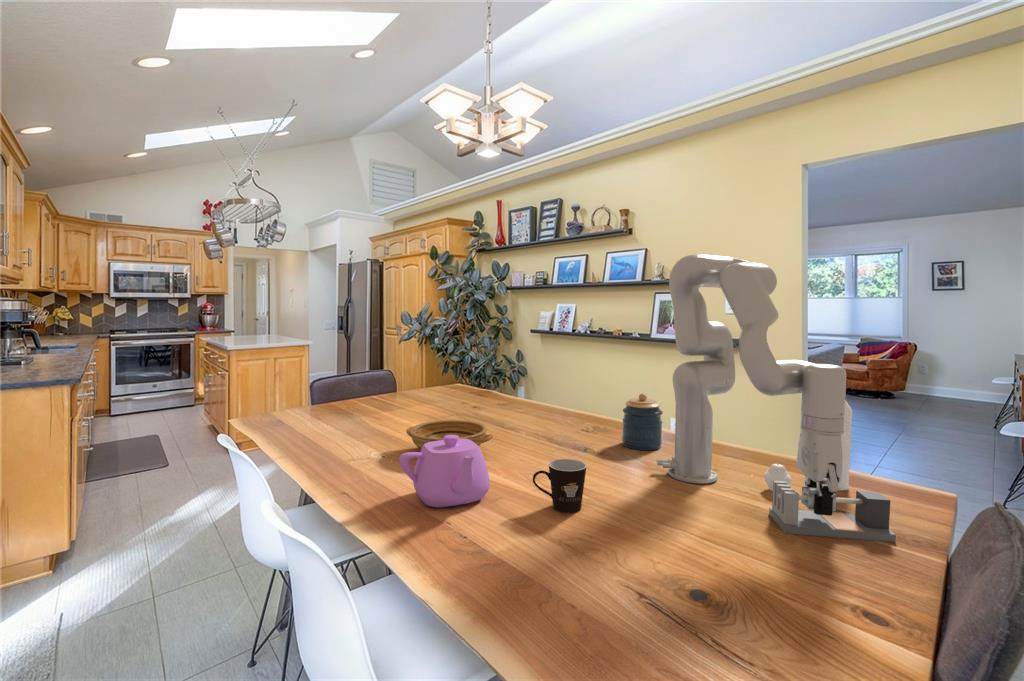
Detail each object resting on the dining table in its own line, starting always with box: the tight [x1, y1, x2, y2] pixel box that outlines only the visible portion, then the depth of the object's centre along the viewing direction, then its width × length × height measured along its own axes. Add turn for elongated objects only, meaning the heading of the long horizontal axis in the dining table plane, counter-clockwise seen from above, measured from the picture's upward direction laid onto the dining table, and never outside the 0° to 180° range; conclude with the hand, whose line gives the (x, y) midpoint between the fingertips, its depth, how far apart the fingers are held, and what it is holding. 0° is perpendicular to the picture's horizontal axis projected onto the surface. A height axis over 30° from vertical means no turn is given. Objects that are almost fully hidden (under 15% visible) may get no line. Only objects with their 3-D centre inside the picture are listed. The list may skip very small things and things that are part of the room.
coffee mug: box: [532, 458, 587, 514], centre depth 108 cm, size 12×9×10 cm
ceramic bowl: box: [406, 419, 494, 450], centre depth 148 cm, size 30×24×8 cm
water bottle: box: [822, 399, 853, 492], centre depth 122 cm, size 9×6×25 cm
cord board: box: [768, 481, 897, 543], centre depth 98 cm, size 20×9×8 cm, turn 80°
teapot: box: [398, 435, 491, 509], centre depth 110 cm, size 23×21×15 cm
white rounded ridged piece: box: [763, 463, 793, 492], centre depth 118 cm, size 6×6×7 cm
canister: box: [621, 393, 664, 451], centre depth 158 cm, size 13×13×18 cm
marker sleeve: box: [800, 486, 837, 512], centre depth 98 cm, size 5×4×3 cm
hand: (818, 509), depth 98 cm, fingers closed on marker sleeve, 3 cm apart
